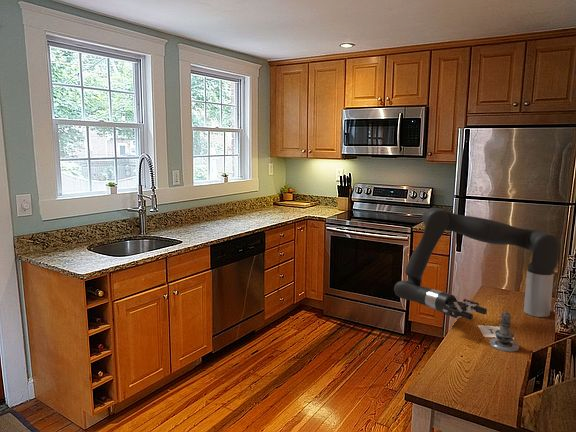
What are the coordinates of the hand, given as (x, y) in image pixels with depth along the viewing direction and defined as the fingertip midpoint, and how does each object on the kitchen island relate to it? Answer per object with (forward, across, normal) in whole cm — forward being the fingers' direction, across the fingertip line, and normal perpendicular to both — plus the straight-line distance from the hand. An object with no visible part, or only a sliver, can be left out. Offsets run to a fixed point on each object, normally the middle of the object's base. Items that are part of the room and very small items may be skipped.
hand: (479, 314), depth 154 cm
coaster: (+10, 0, +8) cm, 12 cm away
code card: (+2, +8, +8) cm, 11 cm away
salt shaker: (+9, 0, +8) cm, 12 cm away
